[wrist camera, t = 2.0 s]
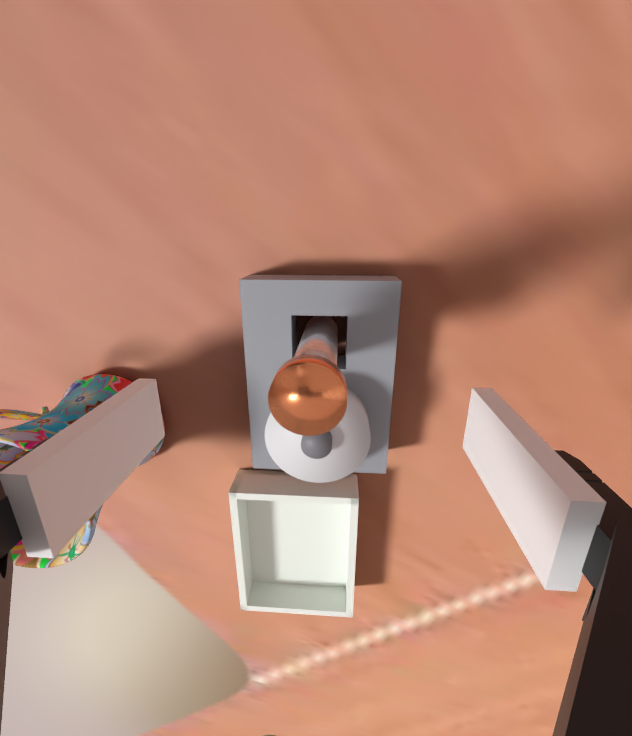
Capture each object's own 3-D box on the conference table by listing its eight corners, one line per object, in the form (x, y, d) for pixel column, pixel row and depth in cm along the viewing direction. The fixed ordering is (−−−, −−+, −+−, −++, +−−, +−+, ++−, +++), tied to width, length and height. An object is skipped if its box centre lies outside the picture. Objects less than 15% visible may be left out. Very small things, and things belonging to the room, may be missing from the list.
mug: (191, 401, 29) (113, 488, 19) (151, 480, 32) (66, 591, 22) (50, 326, 27) (-114, 378, 18) (22, 416, 31) (-131, 504, 21)
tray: (238, 469, 31) (228, 492, 28) (357, 474, 30) (358, 498, 28) (248, 580, 36) (240, 610, 33) (351, 586, 35) (352, 617, 32)
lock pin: (298, 307, 26) (266, 362, 15) (345, 308, 25) (348, 364, 15) (298, 352, 27) (269, 434, 16) (344, 353, 27) (346, 437, 16)
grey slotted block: (250, 274, 25) (225, 285, 20) (395, 275, 24) (410, 287, 19) (261, 446, 30) (243, 493, 25) (381, 450, 29) (391, 499, 24)
